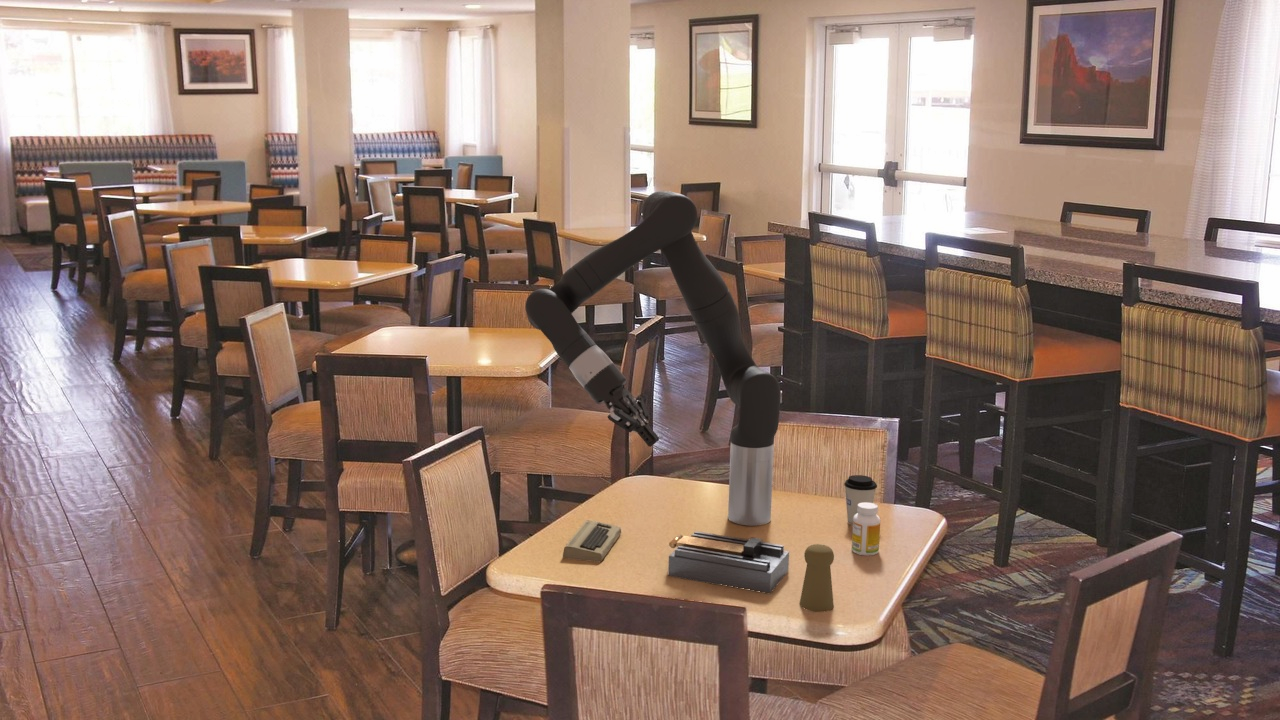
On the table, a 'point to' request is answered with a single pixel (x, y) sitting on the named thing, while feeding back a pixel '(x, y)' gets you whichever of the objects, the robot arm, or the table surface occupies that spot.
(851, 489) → the coffee cup
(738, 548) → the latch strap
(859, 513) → the supplement bottle
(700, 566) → the grey slider box
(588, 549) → the computer
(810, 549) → the olive pawn
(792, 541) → the table surface
